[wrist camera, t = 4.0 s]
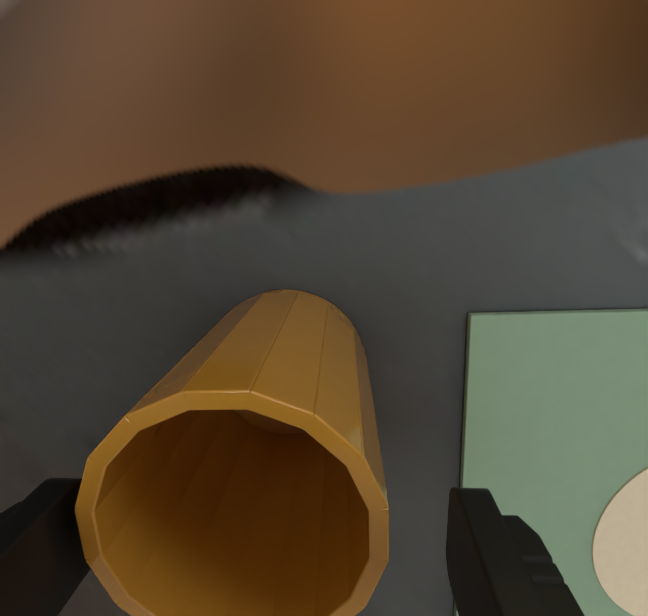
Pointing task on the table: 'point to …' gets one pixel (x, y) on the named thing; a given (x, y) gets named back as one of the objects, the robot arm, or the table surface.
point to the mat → (566, 441)
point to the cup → (245, 474)
